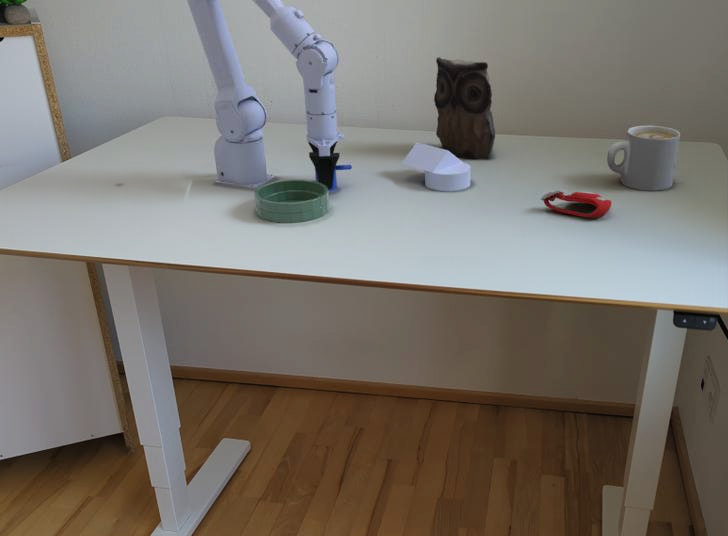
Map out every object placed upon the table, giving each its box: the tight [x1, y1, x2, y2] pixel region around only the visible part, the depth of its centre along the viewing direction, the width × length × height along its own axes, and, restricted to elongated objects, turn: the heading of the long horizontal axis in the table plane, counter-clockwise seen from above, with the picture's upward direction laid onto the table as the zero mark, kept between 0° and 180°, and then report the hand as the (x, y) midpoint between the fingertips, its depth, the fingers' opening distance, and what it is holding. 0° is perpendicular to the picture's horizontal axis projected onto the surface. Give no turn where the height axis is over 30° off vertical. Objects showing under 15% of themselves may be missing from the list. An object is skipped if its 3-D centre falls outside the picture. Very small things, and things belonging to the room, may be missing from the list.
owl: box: [433, 56, 496, 160], centre depth 172 cm, size 13×13×20 cm
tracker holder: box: [540, 189, 612, 219], centre depth 144 cm, size 12×4×10 cm
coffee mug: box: [606, 125, 681, 192], centre depth 156 cm, size 13×10×10 cm
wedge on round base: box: [401, 141, 472, 192], centre depth 158 cm, size 9×7×13 cm
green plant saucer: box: [253, 179, 330, 224], centre depth 145 cm, size 13×13×4 cm
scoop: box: [314, 164, 353, 192], centre depth 155 cm, size 7×4×5 cm, turn 98°
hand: (325, 182), depth 155 cm, fingers open, 7 cm apart
